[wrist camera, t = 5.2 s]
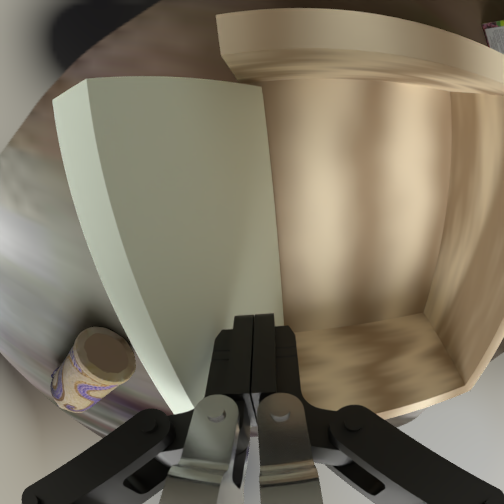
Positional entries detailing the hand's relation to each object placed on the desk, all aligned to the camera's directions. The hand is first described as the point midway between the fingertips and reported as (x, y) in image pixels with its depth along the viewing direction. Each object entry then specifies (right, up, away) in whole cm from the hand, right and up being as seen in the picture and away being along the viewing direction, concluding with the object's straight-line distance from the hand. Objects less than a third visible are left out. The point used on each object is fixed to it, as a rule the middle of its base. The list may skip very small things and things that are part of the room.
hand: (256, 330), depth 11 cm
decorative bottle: (-24, -13, +22) cm, 35 cm away
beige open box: (+8, +7, +10) cm, 15 cm away
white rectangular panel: (0, +4, +8) cm, 9 cm away
